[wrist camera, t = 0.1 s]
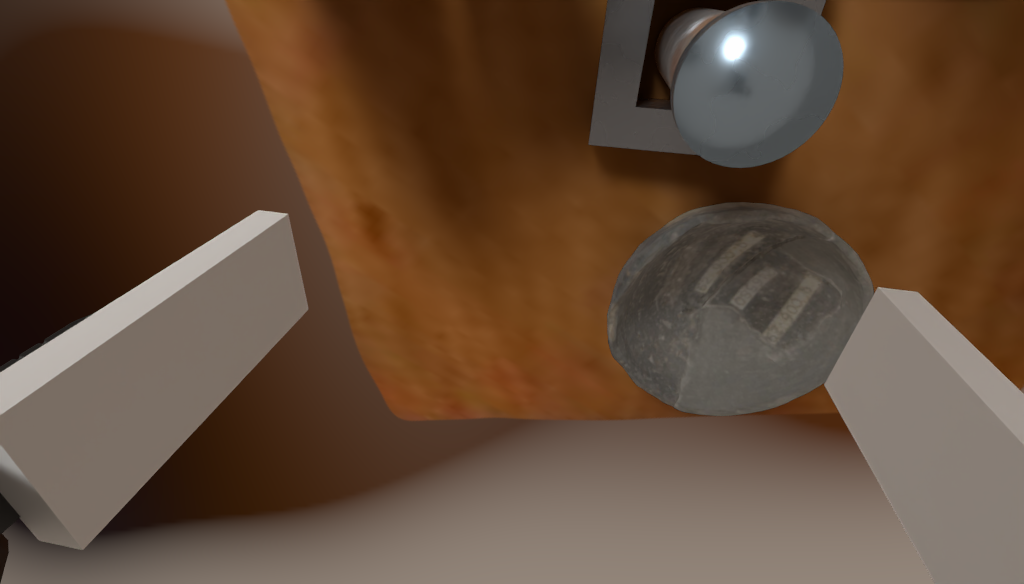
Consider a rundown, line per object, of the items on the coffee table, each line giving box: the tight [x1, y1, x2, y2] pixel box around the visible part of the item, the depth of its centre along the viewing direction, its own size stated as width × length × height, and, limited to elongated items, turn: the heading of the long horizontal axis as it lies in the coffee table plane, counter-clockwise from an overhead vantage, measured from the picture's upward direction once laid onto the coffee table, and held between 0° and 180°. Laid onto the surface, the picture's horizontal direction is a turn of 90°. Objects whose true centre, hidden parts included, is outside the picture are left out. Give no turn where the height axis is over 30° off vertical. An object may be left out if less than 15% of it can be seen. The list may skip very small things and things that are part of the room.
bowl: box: [607, 202, 874, 416], centre depth 37 cm, size 18×18×8 cm
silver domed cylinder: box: [655, 0, 843, 168], centre depth 25 cm, size 6×6×16 cm
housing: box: [589, 0, 826, 155], centre depth 31 cm, size 12×12×4 cm
